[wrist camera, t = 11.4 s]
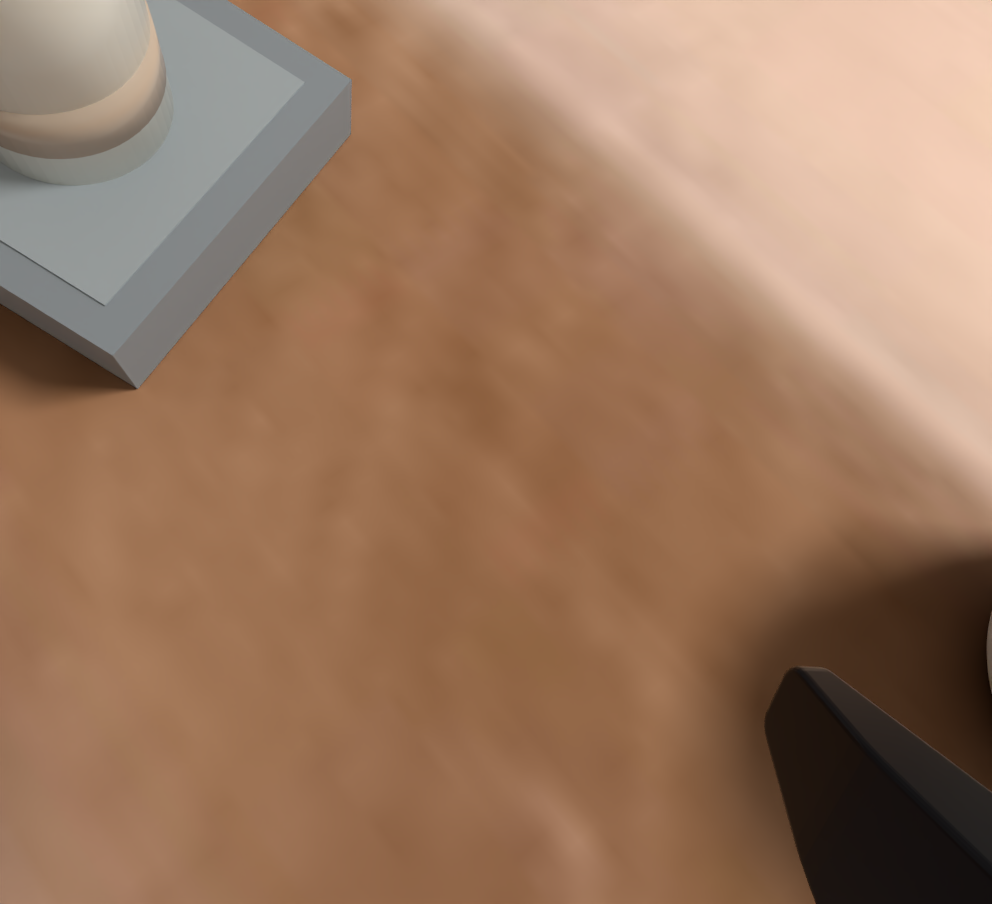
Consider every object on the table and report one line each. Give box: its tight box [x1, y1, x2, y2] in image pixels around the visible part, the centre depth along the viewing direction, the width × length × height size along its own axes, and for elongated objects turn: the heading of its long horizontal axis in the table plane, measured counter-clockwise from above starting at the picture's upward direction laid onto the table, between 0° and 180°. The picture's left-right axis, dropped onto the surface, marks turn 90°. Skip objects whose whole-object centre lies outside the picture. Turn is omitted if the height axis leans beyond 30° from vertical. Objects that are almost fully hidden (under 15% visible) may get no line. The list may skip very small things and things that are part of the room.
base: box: [0, 0, 352, 389], centre depth 22 cm, size 11×11×2 cm
